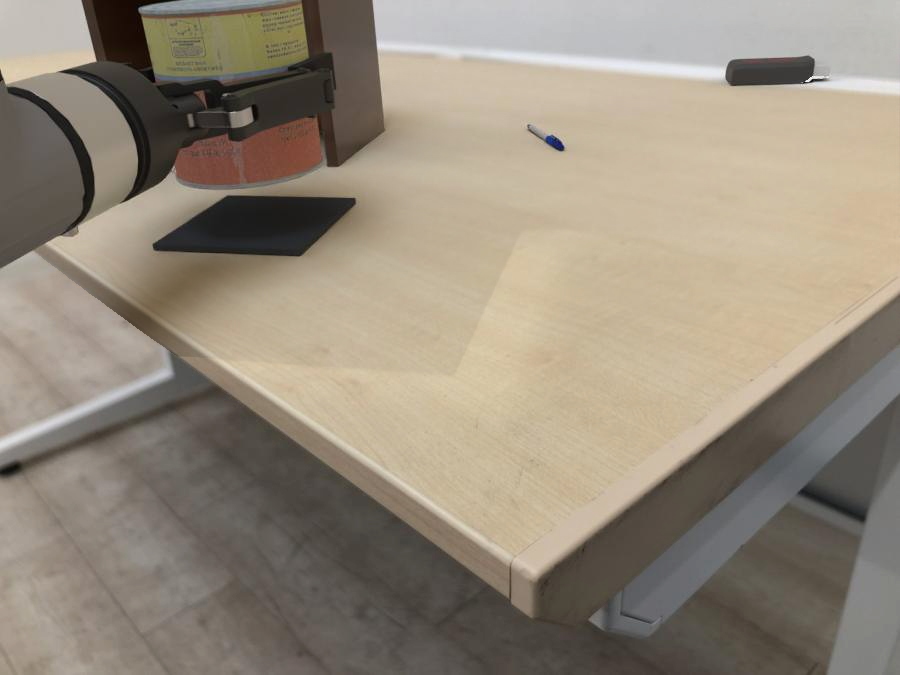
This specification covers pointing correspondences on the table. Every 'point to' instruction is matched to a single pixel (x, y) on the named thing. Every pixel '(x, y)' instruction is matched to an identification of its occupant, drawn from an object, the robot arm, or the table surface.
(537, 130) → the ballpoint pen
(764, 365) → the table surface
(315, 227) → the mat
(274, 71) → the canned food
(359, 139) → the cubby
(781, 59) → the usb drive
